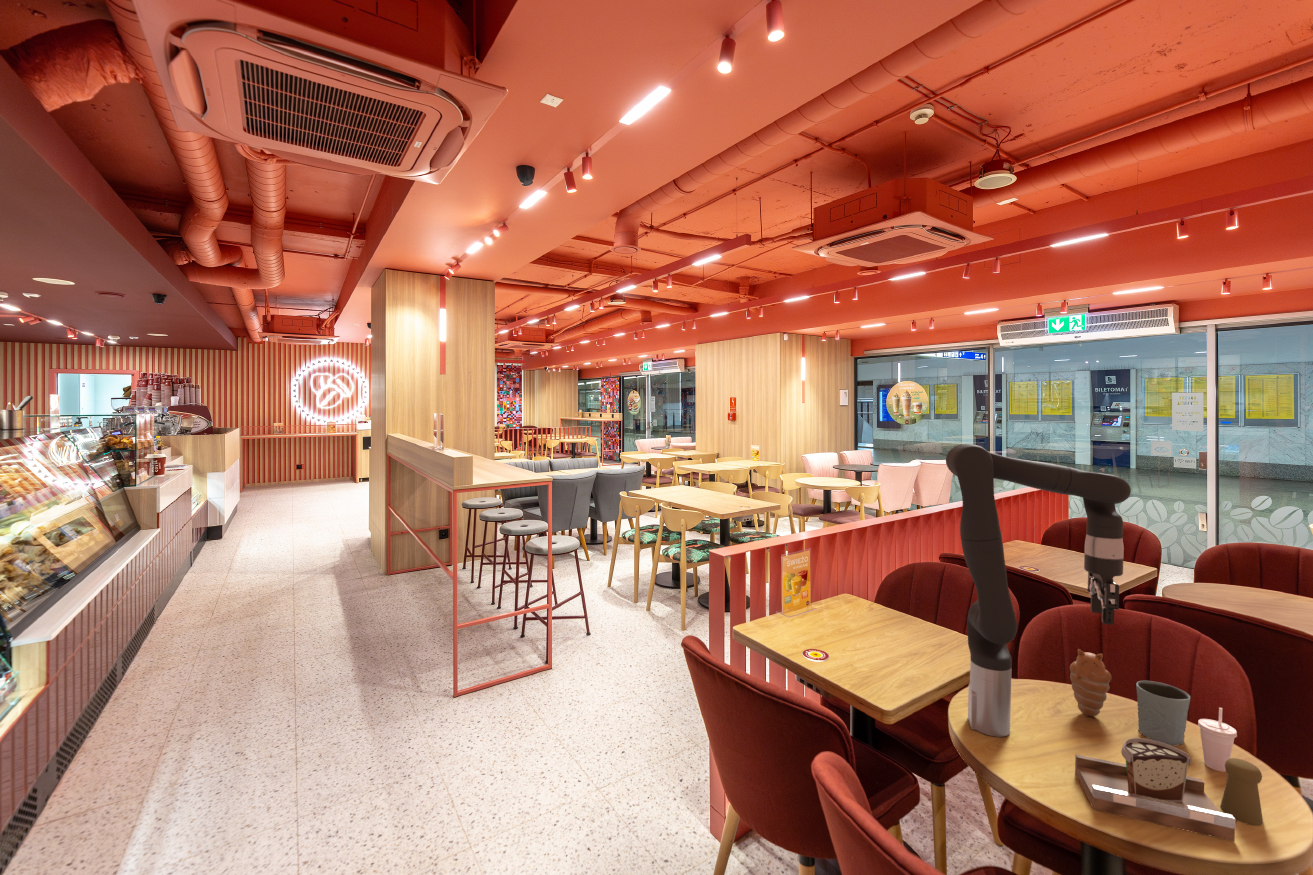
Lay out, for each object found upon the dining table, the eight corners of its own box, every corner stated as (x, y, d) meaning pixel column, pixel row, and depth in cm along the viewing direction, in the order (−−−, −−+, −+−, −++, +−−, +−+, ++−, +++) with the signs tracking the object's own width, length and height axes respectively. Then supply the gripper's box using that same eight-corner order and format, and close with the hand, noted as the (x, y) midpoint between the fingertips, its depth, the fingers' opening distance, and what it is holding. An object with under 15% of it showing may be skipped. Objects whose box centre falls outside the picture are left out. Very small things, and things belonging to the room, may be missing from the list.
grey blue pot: (1130, 733, 141) (1131, 687, 140) (1140, 719, 147) (1141, 676, 146) (1184, 752, 133) (1186, 704, 132) (1192, 737, 139) (1194, 691, 138)
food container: (1163, 781, 118) (1165, 736, 118) (1190, 801, 112) (1191, 754, 112) (1105, 780, 119) (1106, 735, 118) (1128, 800, 113) (1129, 753, 112)
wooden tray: (1094, 810, 113) (1094, 789, 113) (1075, 773, 125) (1075, 754, 125) (1235, 842, 105) (1236, 819, 104) (1200, 799, 116) (1201, 779, 116)
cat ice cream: (1068, 716, 148) (1070, 651, 148) (1068, 704, 155) (1070, 642, 154) (1110, 727, 143) (1112, 660, 142) (1108, 714, 149) (1110, 650, 149)
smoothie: (1243, 776, 123) (1246, 716, 123) (1210, 773, 125) (1212, 713, 124) (1220, 759, 130) (1222, 702, 129) (1189, 756, 131) (1191, 699, 130)
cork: (1211, 804, 115) (1213, 754, 114) (1237, 803, 115) (1239, 752, 115) (1245, 826, 109) (1247, 773, 108) (1272, 824, 109) (1274, 771, 109)
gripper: (1134, 562, 127) (1131, 630, 128) (1112, 548, 140) (1110, 610, 141) (1094, 559, 130) (1092, 625, 131) (1076, 546, 143) (1075, 606, 144)
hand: (1101, 617), depth 136 cm, fingers open, 8 cm apart
